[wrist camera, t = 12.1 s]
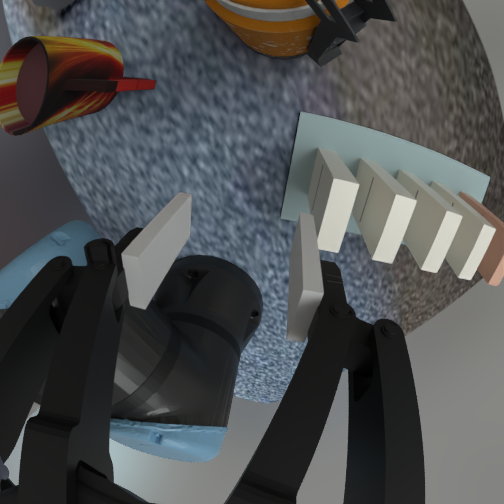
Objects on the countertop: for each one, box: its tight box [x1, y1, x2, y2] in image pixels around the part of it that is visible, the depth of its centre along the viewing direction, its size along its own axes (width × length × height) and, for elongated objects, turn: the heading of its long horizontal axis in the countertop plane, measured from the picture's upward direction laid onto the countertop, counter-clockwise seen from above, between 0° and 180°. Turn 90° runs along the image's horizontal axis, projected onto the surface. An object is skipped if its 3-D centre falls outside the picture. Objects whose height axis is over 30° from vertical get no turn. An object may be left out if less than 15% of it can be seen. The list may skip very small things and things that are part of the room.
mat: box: [280, 112, 490, 245], centre depth 28 cm, size 25×12×1 cm, turn 82°
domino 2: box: [352, 158, 417, 264], centre depth 23 cm, size 2×5×11 cm, turn 172°
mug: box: [0, 36, 156, 136], centre depth 19 cm, size 10×14×12 cm
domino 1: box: [308, 147, 359, 253], centre depth 23 cm, size 2×5×11 cm, turn 172°
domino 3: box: [397, 169, 463, 273], centre depth 23 cm, size 2×5×11 cm, turn 172°
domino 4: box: [430, 180, 496, 280], centre depth 23 cm, size 2×5×11 cm, turn 172°
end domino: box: [459, 191, 504, 286], centre depth 23 cm, size 2×5×11 cm, turn 172°
